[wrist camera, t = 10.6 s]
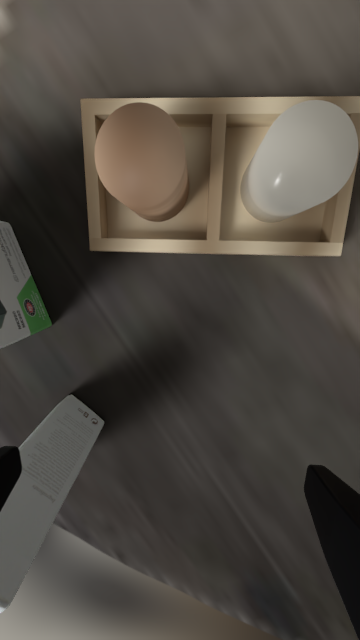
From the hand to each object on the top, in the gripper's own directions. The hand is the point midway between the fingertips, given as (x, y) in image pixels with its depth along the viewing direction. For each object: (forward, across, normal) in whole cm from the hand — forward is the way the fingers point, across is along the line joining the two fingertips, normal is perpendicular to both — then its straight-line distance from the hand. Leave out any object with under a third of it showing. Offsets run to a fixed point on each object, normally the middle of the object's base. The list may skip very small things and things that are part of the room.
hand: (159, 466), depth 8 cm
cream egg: (+12, -6, -11) cm, 17 cm away
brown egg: (+12, +2, -11) cm, 16 cm away
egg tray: (+12, -2, -11) cm, 17 cm away
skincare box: (+13, +10, +9) cm, 19 cm away
